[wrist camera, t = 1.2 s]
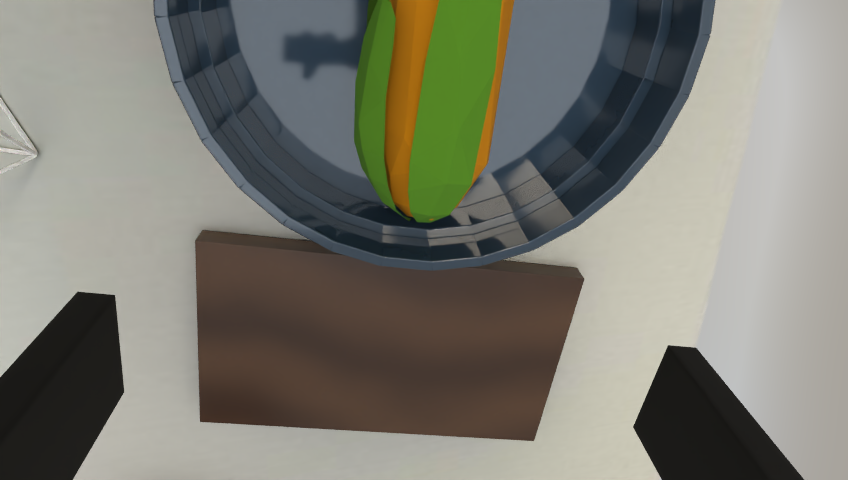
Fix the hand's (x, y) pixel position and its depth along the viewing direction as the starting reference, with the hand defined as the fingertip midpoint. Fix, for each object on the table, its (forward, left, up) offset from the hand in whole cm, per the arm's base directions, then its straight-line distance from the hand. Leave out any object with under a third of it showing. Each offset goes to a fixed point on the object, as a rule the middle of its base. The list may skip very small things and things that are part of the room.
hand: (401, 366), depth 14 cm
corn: (-7, +2, -21) cm, 22 cm away
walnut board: (+14, +2, -21) cm, 25 cm away
